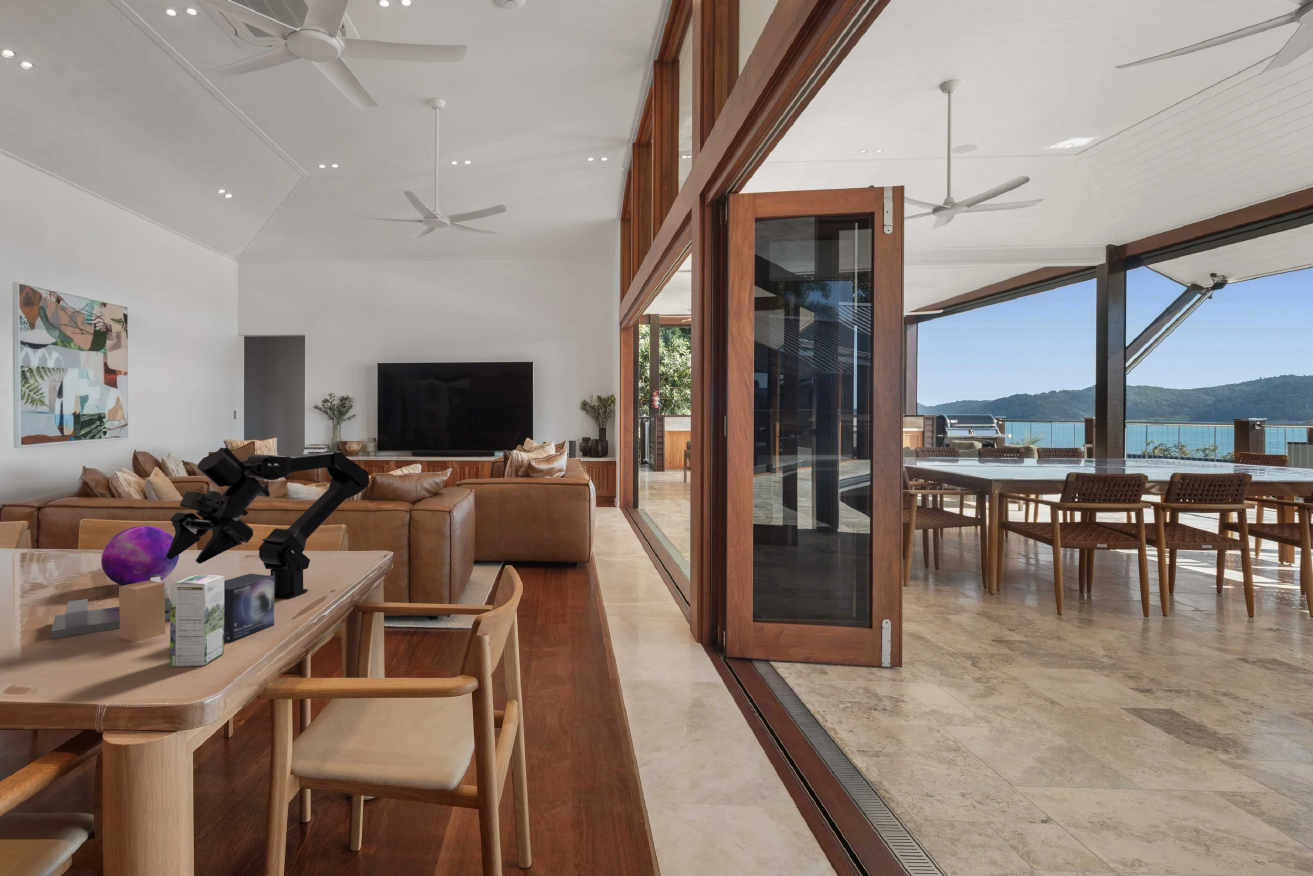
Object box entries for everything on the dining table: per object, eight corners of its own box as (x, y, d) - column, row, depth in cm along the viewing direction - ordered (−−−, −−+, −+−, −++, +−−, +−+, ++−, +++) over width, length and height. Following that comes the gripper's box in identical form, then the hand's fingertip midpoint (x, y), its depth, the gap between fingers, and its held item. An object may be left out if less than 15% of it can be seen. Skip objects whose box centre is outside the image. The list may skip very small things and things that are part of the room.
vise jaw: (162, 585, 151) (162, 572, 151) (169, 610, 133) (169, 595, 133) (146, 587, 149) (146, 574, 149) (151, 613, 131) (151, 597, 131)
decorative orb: (190, 584, 159) (189, 525, 159) (115, 598, 147) (114, 534, 146) (164, 575, 167) (164, 519, 167) (91, 588, 155) (90, 527, 154)
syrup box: (191, 654, 113) (190, 574, 113) (225, 654, 114) (224, 574, 113) (169, 667, 108) (168, 583, 107) (206, 666, 108) (204, 582, 108)
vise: (188, 603, 144) (188, 584, 144) (193, 616, 135) (193, 596, 134) (55, 622, 129) (55, 602, 129) (51, 639, 120) (50, 616, 120)
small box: (232, 643, 119) (231, 588, 119) (203, 640, 121) (202, 586, 120) (276, 625, 130) (276, 574, 129) (249, 622, 131) (249, 572, 131)
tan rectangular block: (148, 630, 126) (148, 580, 126) (165, 633, 124) (164, 583, 124) (119, 638, 121) (119, 586, 121) (136, 641, 119) (135, 589, 119)
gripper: (179, 474, 137) (121, 534, 127) (238, 478, 130) (182, 541, 120) (216, 506, 145) (164, 564, 135) (274, 511, 138) (224, 573, 128)
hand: (182, 560), depth 129 cm, fingers open, 9 cm apart
